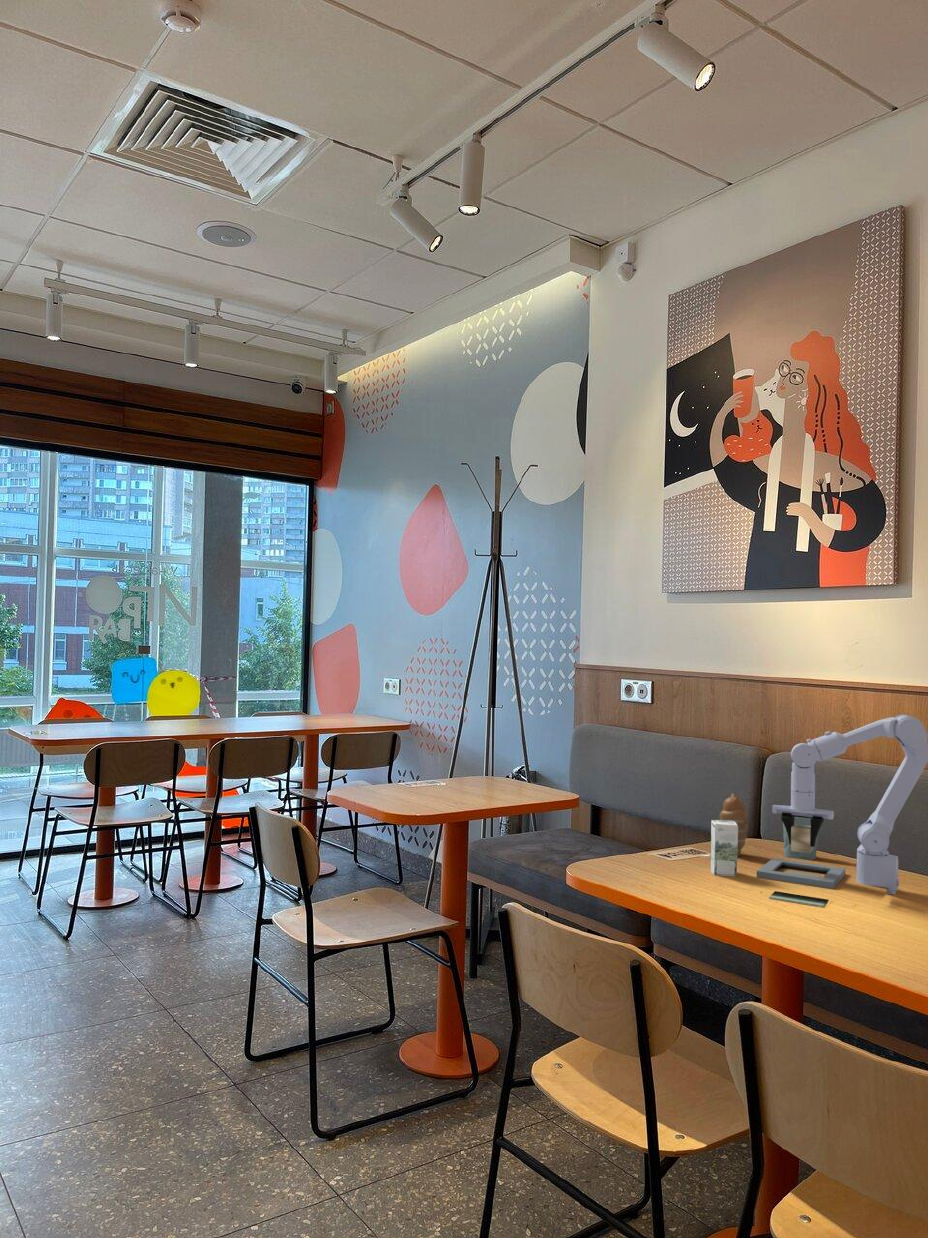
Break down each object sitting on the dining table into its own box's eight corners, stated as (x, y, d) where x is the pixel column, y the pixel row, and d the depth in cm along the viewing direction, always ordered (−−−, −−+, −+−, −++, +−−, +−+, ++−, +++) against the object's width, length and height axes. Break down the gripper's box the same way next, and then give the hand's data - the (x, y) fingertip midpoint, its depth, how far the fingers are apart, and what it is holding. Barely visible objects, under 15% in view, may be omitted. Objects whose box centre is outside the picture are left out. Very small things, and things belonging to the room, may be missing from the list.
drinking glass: (775, 853, 262) (775, 811, 263) (807, 853, 264) (807, 811, 265) (793, 861, 253) (794, 818, 253) (827, 861, 254) (827, 818, 255)
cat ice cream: (751, 863, 248) (752, 797, 249) (722, 862, 248) (723, 796, 249) (742, 856, 257) (743, 792, 258) (714, 855, 257) (715, 791, 258)
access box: (845, 880, 233) (845, 868, 233) (833, 895, 217) (833, 882, 217) (772, 869, 242) (773, 858, 242) (756, 883, 227) (756, 871, 227)
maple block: (813, 850, 231) (813, 826, 231) (809, 853, 227) (810, 829, 227) (794, 847, 233) (795, 824, 233) (790, 850, 229) (791, 827, 229)
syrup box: (732, 876, 233) (733, 820, 233) (737, 882, 227) (738, 824, 227) (709, 875, 233) (710, 819, 234) (713, 881, 227) (715, 823, 228)
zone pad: (830, 897, 215) (830, 896, 215) (823, 907, 206) (823, 905, 206) (778, 889, 221) (778, 888, 221) (769, 898, 213) (769, 896, 213)
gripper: (836, 792, 230) (835, 846, 230) (777, 786, 238) (776, 838, 237) (831, 795, 224) (830, 850, 224) (770, 789, 232) (769, 843, 231)
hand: (802, 844), depth 230 cm, fingers closed on maple block, 4 cm apart
